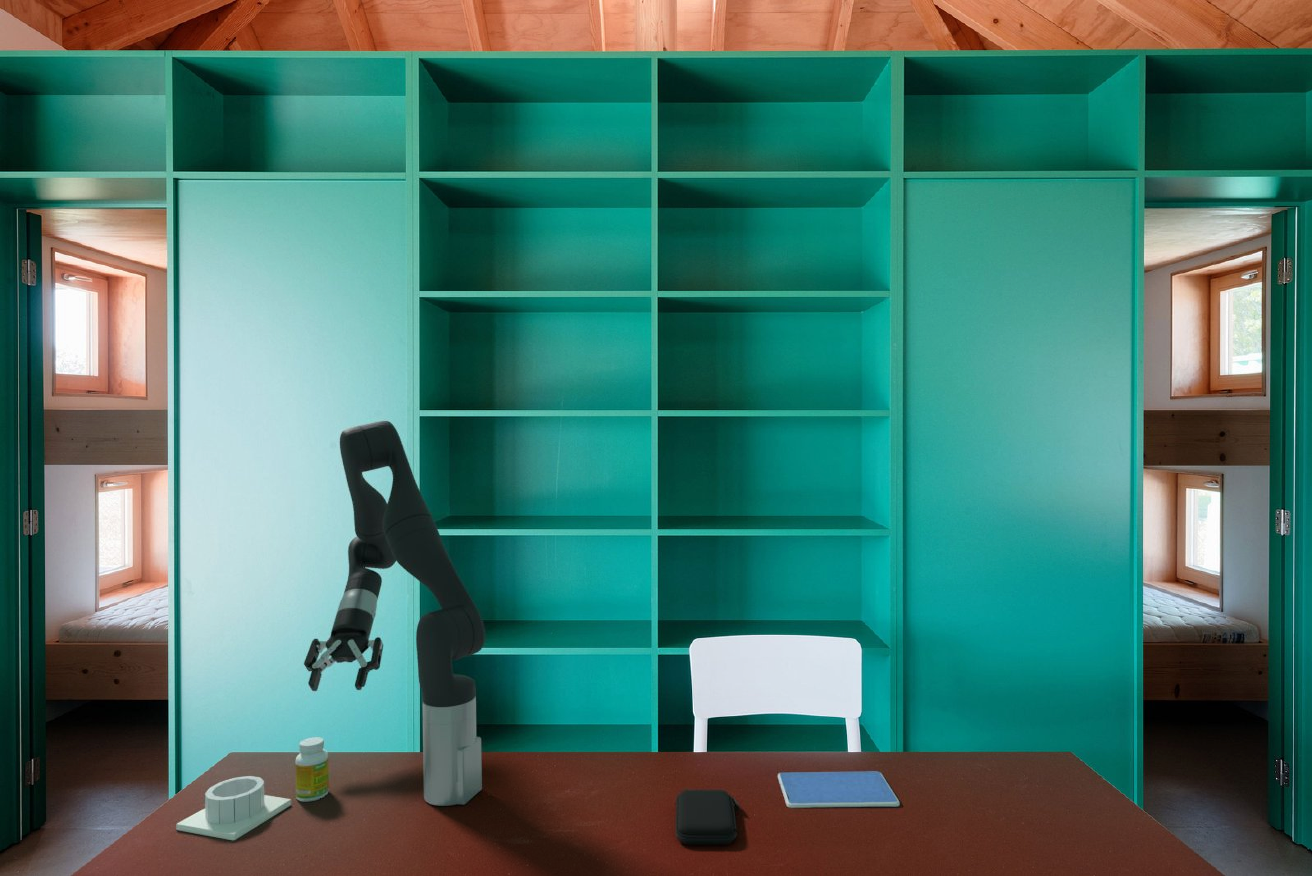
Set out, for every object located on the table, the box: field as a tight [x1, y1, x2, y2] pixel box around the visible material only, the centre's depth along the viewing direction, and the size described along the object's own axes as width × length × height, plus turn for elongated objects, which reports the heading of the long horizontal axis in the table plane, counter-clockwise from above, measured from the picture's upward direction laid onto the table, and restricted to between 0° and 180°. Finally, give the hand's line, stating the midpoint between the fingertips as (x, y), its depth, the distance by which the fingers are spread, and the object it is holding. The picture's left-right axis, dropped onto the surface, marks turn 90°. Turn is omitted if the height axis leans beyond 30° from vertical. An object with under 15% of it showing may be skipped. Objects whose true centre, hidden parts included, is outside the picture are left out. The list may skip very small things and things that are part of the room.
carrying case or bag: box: [675, 789, 741, 846], centre depth 123 cm, size 11×3×15 cm
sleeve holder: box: [175, 775, 292, 842], centre depth 127 cm, size 12×12×5 cm
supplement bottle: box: [295, 736, 330, 803], centre depth 135 cm, size 5×5×10 cm
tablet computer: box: [777, 770, 901, 809], centre depth 134 cm, size 19×13×1 cm, turn 89°
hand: (335, 688), depth 146 cm, fingers open, 8 cm apart
